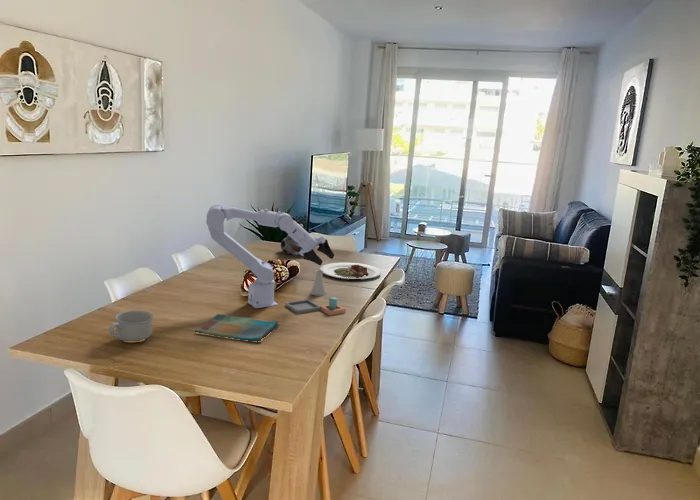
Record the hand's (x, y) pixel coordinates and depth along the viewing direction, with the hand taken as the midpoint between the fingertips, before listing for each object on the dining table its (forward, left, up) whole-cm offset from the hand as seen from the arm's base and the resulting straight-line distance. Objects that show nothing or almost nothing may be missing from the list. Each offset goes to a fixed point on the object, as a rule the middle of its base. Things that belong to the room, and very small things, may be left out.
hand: (327, 260), depth 202 cm
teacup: (-74, -7, -18) cm, 77 cm away
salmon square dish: (-3, -10, -18) cm, 20 cm away
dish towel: (-41, -12, -18) cm, 47 cm away
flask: (+4, +12, -18) cm, 22 cm away
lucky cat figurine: (+30, +82, -18) cm, 89 cm away
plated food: (+35, +35, -18) cm, 52 cm away
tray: (-11, -2, -18) cm, 21 cm away
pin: (-3, -10, -17) cm, 20 cm away
